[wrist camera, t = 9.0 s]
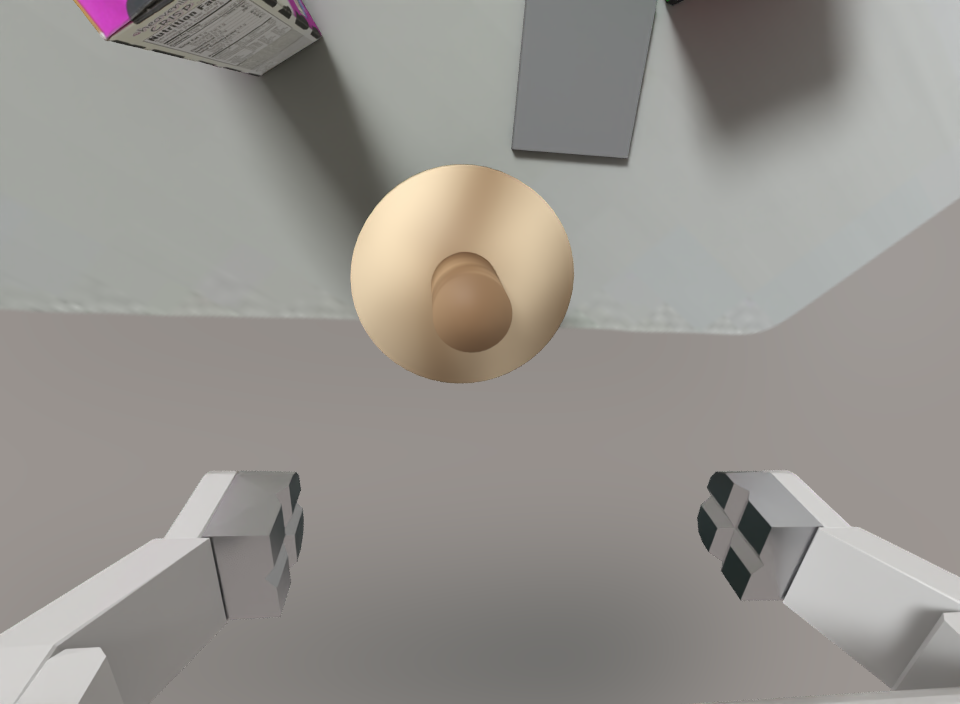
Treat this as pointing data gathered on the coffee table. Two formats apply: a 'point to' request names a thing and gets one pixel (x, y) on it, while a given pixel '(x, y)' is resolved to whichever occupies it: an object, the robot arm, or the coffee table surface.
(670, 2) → the puzzle cube
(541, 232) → the beech lid
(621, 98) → the rubber mat
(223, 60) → the candy bar box
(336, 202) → the coffee table surface
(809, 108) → the coffee table surface
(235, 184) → the coffee table surface
